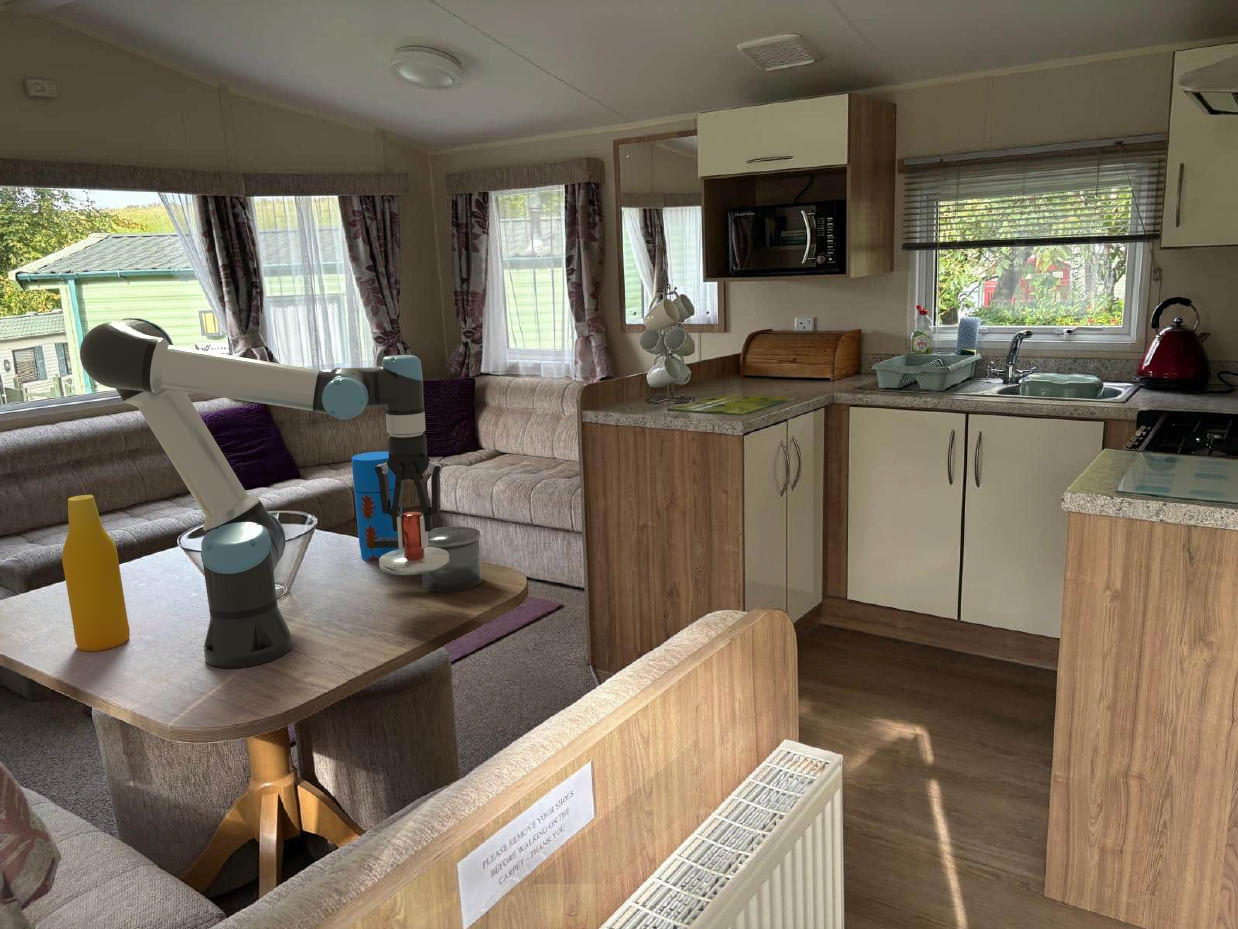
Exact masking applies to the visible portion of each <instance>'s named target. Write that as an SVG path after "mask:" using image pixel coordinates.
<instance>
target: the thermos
mask: <svg viewBox="0 0 1238 929" xmlns="http://www.w3.org/2000/svg"><path fill="white" fill-rule="evenodd" d="M388 457H389V453H388V451H370V452H363V453H359V454H354V455H353V456H352V457H351V470H352V471H351V472H352V481H353V492H354V502H355V512H356V513H355V514H356V515H355V516H356V522H357V532H358V533H357V534H358V544H359V550H360V556H361V560H364V561H368V562H379V559H380V557H381V556H382V555H384V554H386V553H388V552H391V551H394V550H398V549H399V548H374V541H375V540H376V539H377V538H378V537H398V532H394V531H393V524H392V516H391V515H389V514H384V513H383V512H382V506H381V497H380V488H379V478H378V476H377V474H376V472H375V467H376V466H378V465H379V464H384V463H386V462H387V460H388ZM388 470H389V471H388V473H387V474H388V481H389V490H390V500H391V507H392V504H393V497H394V490H395V478H396V476H395V474H394V473H393V472H392V471H391V469H390V468H388ZM400 511H401V512H400V514H403V506H402V503H401V510H400Z"/></svg>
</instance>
